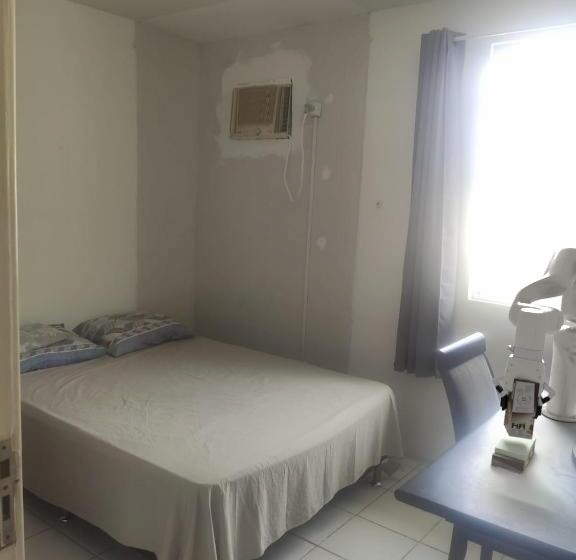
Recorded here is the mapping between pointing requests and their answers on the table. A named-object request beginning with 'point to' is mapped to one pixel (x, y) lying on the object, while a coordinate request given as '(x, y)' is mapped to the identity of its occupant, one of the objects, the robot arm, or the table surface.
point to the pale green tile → (515, 447)
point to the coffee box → (521, 409)
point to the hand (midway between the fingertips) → (519, 413)
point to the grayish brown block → (510, 462)
